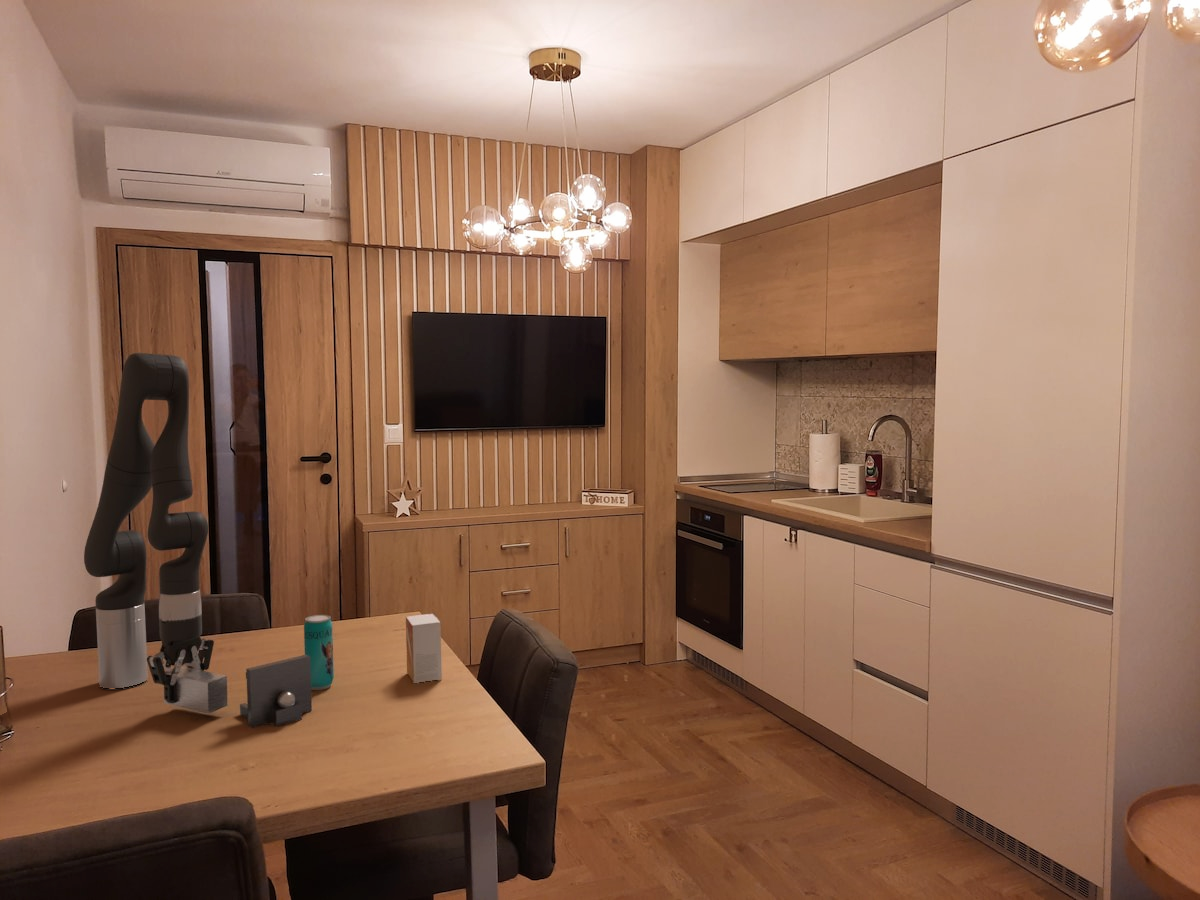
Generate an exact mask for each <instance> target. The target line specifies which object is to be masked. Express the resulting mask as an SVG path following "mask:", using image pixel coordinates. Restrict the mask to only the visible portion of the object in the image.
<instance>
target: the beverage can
mask: <svg viewBox="0 0 1200 900" xmlns="http://www.w3.org/2000/svg"><path fill="white" fill-rule="evenodd" d="M304 620H305V622H304V625H303V635H304V636H303V638H304V641H303V643H304V645H303V646H304V655H309V656H310V667H311V691H322V690H323V689H324V690H327V689H329V688H330V687H331V686H332V684H333V681H334V677H335V675H334V674H335V671H334V669H335V668H334V644H333V641H334V639H333V634H334V633H333V622H332V619H331V615H328V614H317V615H316V614H315V615H311V616H308V617H307V616H306V617H305V619H304ZM324 690H323V691H324Z"/></svg>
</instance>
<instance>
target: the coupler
mask: <svg viewBox="0 0 1200 900" xmlns="http://www.w3.org/2000/svg"><path fill="white" fill-rule="evenodd" d="M245 670H246V672H245V679H246V694H247V695H246V696H247V697H246V700H247V703H246V702H244V703H240V704H239V712H240V713H239V714H240V715H241V716H242V717H244V718H246V719H247V725H248V727H250V728H251V729H253V728H257V727H261V726H264V725H267V724H271V723H272V724H271V725H273V726H274V727H280V725H281V726H284V725H287V723H288V724H290V723H294V722H298V721H300V720H303V715H302V714H305V713H308V712H311V711H312V709H313V708H312V705H313V704H312V690H311V667H310V656H309V655H305V654H303V655H298V656H294V657H289V658H286V659H282V660H277V661H273V662H270V663H264V664H261V665H256V666H252V667H248V668H246V669H245Z"/></svg>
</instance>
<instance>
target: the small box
mask: <svg viewBox="0 0 1200 900" xmlns="http://www.w3.org/2000/svg"><path fill="white" fill-rule="evenodd" d="M405 630H406V631H405V636H406V639H405V641H406V642H405V643H406V644H405V645H406V673H407V675H408V676H409V678H410V679H411V680H412V683H413V684H414V683H417V684H420V683H419V682H424V683H426V682H425V681H431V682H433V681H432V680H438V681H442V680H443V673H442V672H443V671H442V670H443V669H442V638H441V637H442V632H441V631H442V630H441V621H440V620H439V619H438V617H437V616H436V615H435V614H434V613H426V614H418V615H417V614H416V615H410V616H405ZM441 679H442V680H441Z"/></svg>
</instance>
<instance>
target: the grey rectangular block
mask: <svg viewBox="0 0 1200 900" xmlns="http://www.w3.org/2000/svg"><path fill="white" fill-rule="evenodd" d="M170 675H171V673H170ZM169 678H170V677H169ZM175 684H176V687H177V702H176V703H173V704H172V703H168V702H167V701H166V700H165V699H163V700H164V702H163V703H164V704H167V705H170V706H174V707H179V708H183V709H187V710H192V711H196V712H199V713H204V714H212V713H213V712H216V711H218V710H220V709H224V708H225V707H228V676H227V675H225V674H219V673H215V672H211V671H207V670H204V671H201V670H194V669H192V668H187V667H186V666H181V670H180V672H179V673H178V675H177V679H176V683H175Z"/></svg>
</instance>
